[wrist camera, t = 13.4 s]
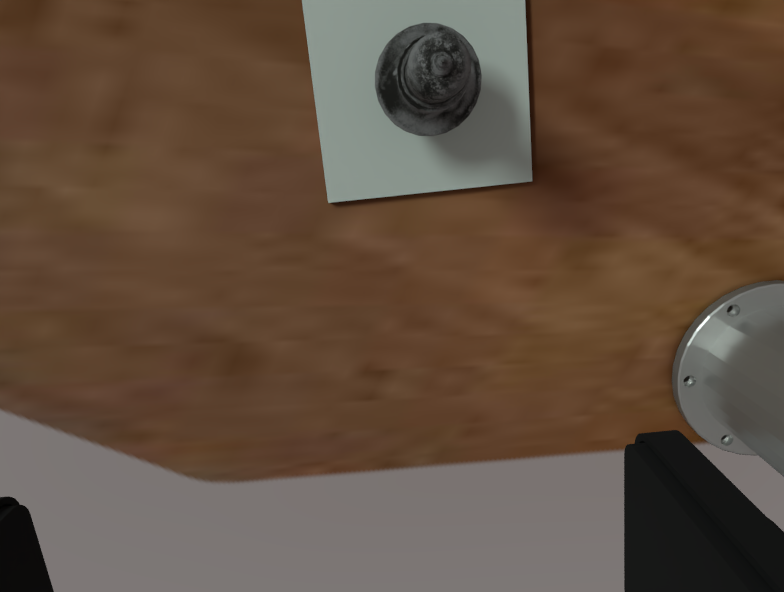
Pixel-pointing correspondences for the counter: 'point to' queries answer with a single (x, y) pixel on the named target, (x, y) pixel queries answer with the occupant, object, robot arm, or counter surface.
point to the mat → (386, 140)
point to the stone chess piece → (428, 79)
